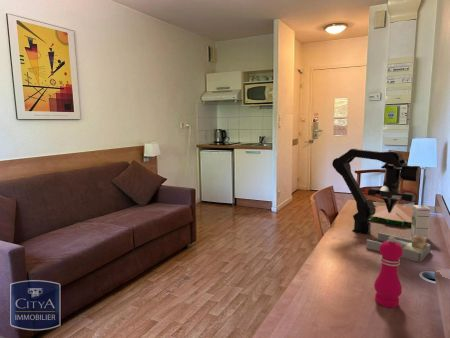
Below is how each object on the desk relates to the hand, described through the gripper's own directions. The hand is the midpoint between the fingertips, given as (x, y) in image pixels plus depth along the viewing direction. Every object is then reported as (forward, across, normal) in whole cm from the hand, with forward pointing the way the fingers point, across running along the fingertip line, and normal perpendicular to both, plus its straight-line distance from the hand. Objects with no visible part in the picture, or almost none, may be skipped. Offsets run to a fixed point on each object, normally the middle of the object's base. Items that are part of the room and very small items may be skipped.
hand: (389, 212), depth 149 cm
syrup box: (+12, +10, +12) cm, 20 cm away
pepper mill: (+12, +19, -59) cm, 63 cm away
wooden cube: (+9, +15, -10) cm, 20 cm away
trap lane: (+12, +8, -13) cm, 19 cm away
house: (+13, -8, +37) cm, 40 cm away
